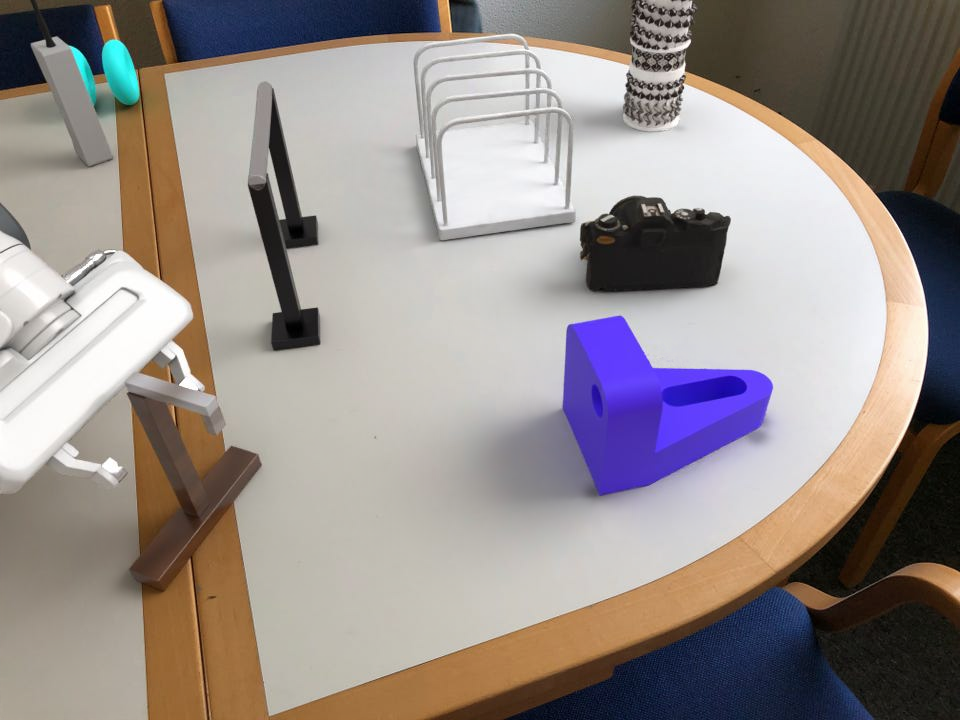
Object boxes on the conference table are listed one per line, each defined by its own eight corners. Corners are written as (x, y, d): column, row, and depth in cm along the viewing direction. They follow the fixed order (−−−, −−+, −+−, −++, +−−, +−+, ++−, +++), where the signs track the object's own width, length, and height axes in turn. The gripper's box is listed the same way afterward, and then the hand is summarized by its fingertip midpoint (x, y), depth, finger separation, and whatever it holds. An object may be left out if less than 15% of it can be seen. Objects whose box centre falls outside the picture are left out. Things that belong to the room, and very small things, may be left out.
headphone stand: (134, 580, 65) (50, 442, 53) (235, 456, 74) (182, 316, 62) (214, 612, 62) (144, 475, 51) (308, 480, 72) (266, 339, 60)
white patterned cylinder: (683, 107, 122) (710, -71, 105) (679, 135, 116) (706, -50, 99) (624, 102, 124) (640, -73, 107) (617, 130, 118) (633, -53, 101)
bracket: (599, 495, 69) (609, 401, 61) (562, 407, 77) (567, 314, 69) (789, 455, 72) (823, 359, 64) (735, 374, 79) (758, 280, 71)
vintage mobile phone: (101, 147, 120) (32, -29, 103) (114, 159, 117) (44, -20, 100) (77, 155, 118) (2, -22, 101) (89, 168, 115) (14, -13, 98)
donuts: (81, 97, 133) (57, 37, 126) (142, 88, 135) (122, 29, 128) (75, 123, 126) (49, 61, 119) (140, 113, 128) (119, 52, 121)
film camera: (681, 224, 99) (692, 151, 92) (737, 279, 91) (754, 204, 84) (550, 256, 95) (552, 183, 88) (596, 318, 86) (602, 242, 80)
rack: (273, 350, 85) (226, 187, 71) (278, 227, 102) (241, 77, 88) (320, 344, 85) (282, 181, 72) (317, 223, 102) (286, 73, 89)
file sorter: (416, 146, 116) (405, 39, 106) (532, 132, 118) (533, 26, 108) (440, 242, 98) (430, 124, 88) (576, 224, 100) (582, 106, 89)
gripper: (98, 256, 67) (223, 365, 71) (-113, 422, 54) (55, 548, 58) (121, 220, 63) (253, 339, 67) (-103, 392, 49) (79, 530, 53)
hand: (160, 437), depth 62 cm, fingers open, 8 cm apart
